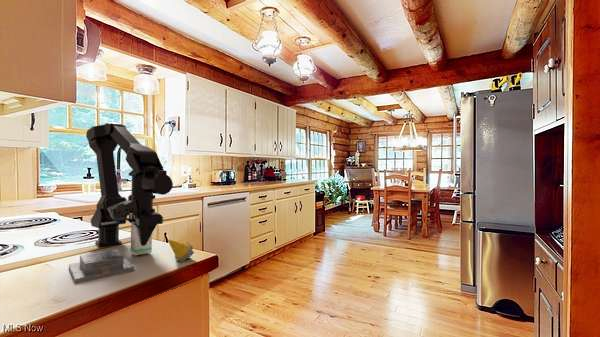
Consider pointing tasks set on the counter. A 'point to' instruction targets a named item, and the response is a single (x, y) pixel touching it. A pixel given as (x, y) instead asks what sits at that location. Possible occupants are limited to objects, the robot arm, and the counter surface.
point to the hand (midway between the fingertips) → (141, 243)
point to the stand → (99, 266)
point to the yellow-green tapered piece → (181, 250)
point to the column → (139, 242)
